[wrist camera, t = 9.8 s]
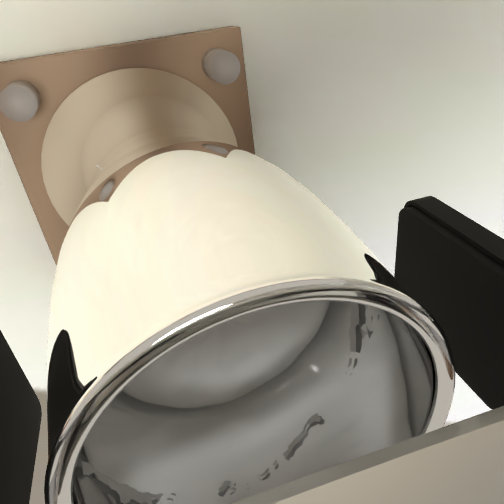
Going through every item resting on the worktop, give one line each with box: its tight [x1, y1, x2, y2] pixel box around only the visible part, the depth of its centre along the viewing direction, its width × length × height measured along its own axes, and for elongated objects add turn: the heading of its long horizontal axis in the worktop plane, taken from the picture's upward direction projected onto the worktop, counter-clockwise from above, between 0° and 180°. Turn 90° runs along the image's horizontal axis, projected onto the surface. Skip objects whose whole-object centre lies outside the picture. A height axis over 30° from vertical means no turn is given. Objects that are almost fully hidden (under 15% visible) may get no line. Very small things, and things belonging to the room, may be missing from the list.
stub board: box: [0, 26, 255, 265], centre depth 19 cm, size 10×10×3 cm
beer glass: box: [44, 95, 455, 504], centre depth 13 cm, size 7×7×15 cm
